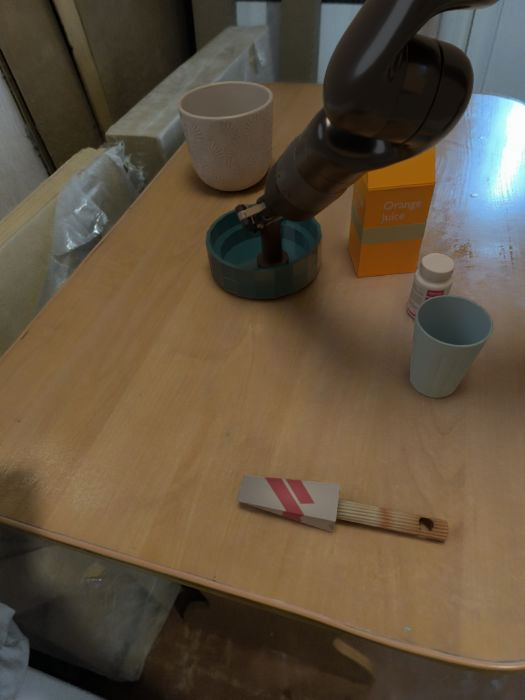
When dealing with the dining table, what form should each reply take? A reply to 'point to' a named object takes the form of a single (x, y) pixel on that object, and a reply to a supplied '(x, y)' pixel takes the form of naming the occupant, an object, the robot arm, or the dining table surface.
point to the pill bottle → (431, 280)
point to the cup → (446, 343)
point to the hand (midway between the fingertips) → (263, 222)
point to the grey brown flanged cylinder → (272, 247)
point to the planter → (228, 132)
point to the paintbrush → (329, 506)
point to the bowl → (243, 248)
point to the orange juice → (391, 216)
